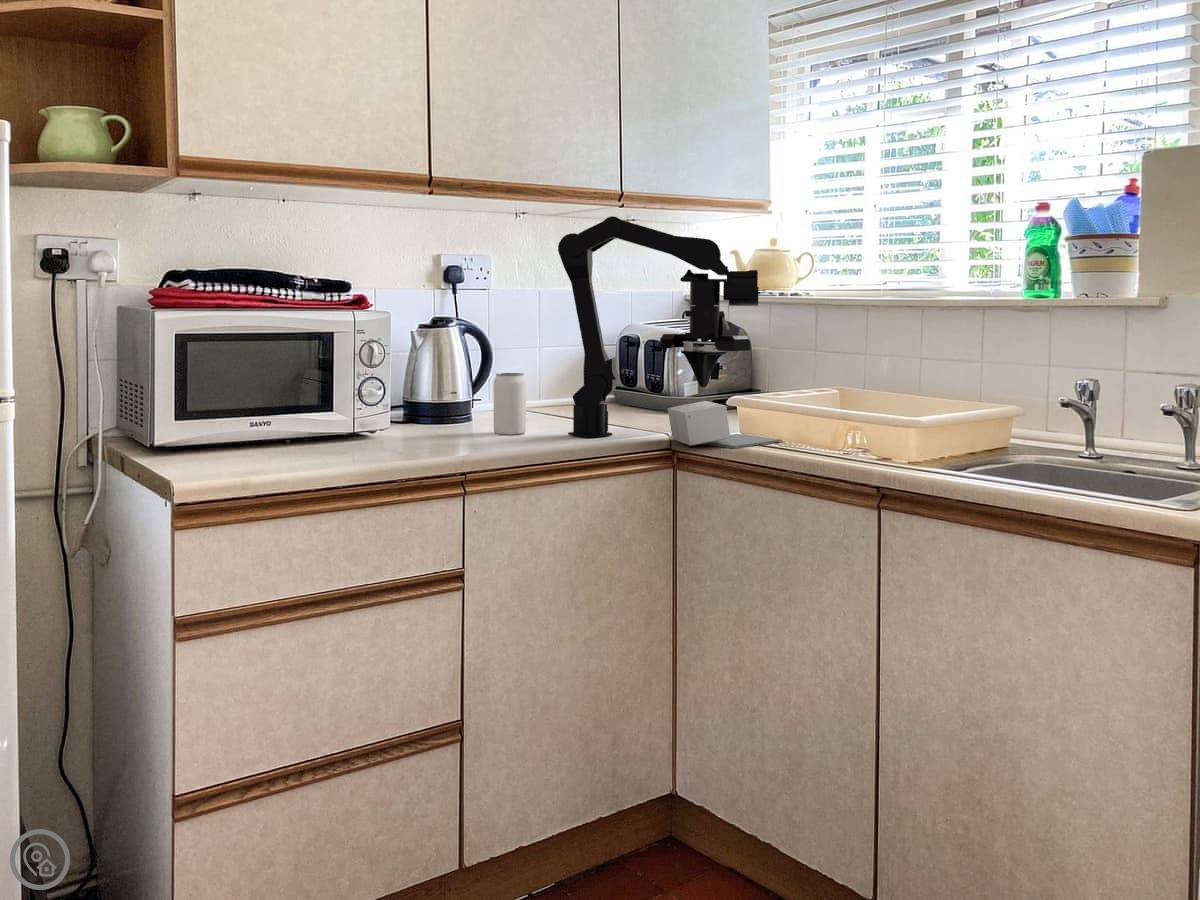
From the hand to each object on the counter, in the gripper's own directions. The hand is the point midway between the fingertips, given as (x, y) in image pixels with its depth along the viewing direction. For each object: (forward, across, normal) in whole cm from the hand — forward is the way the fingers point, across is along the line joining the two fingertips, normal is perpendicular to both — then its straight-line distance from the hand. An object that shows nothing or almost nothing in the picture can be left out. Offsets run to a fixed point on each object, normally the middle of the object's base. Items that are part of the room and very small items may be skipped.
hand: (703, 387), depth 207 cm
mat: (+10, -8, -1) cm, 13 cm away
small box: (+6, +2, +2) cm, 7 cm away
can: (+10, +30, +24) cm, 40 cm away
